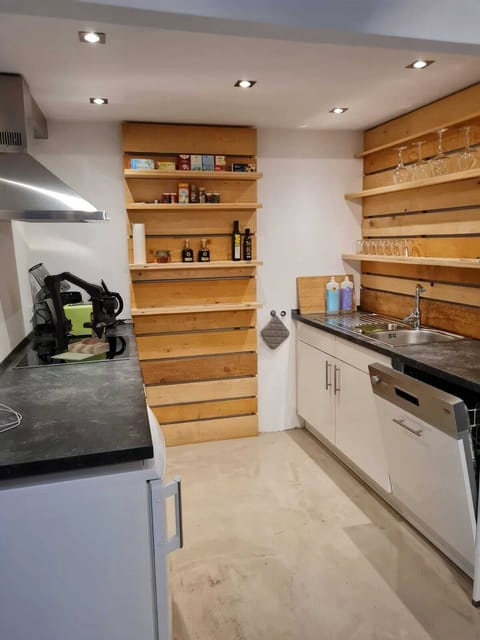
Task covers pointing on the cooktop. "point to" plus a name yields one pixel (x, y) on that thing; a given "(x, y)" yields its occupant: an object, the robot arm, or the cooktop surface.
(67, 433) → the cooktop surface
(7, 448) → the cooktop surface
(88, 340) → the walnut tile
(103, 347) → the birch riser
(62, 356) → the sage mat
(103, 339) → the coffee box
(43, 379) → the cooktop surface
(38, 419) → the cooktop surface
